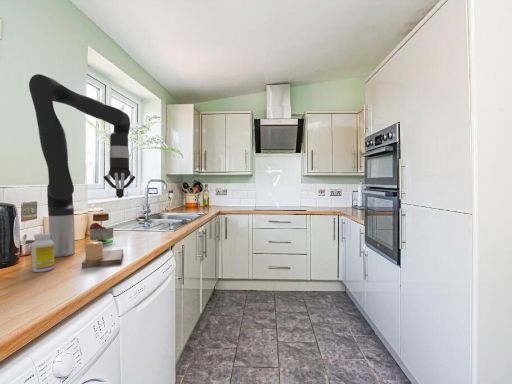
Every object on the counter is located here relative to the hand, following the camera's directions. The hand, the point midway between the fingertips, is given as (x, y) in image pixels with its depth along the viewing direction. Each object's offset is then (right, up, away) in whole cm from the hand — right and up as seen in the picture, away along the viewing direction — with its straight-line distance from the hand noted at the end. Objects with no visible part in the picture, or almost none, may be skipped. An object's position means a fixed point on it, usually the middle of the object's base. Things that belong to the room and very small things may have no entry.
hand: (120, 197), depth 127 cm
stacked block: (-23, -24, +27) cm, 43 cm away
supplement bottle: (-18, -26, -21) cm, 38 cm away
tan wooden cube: (-4, -23, -13) cm, 27 cm away
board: (-2, -25, -8) cm, 26 cm away
